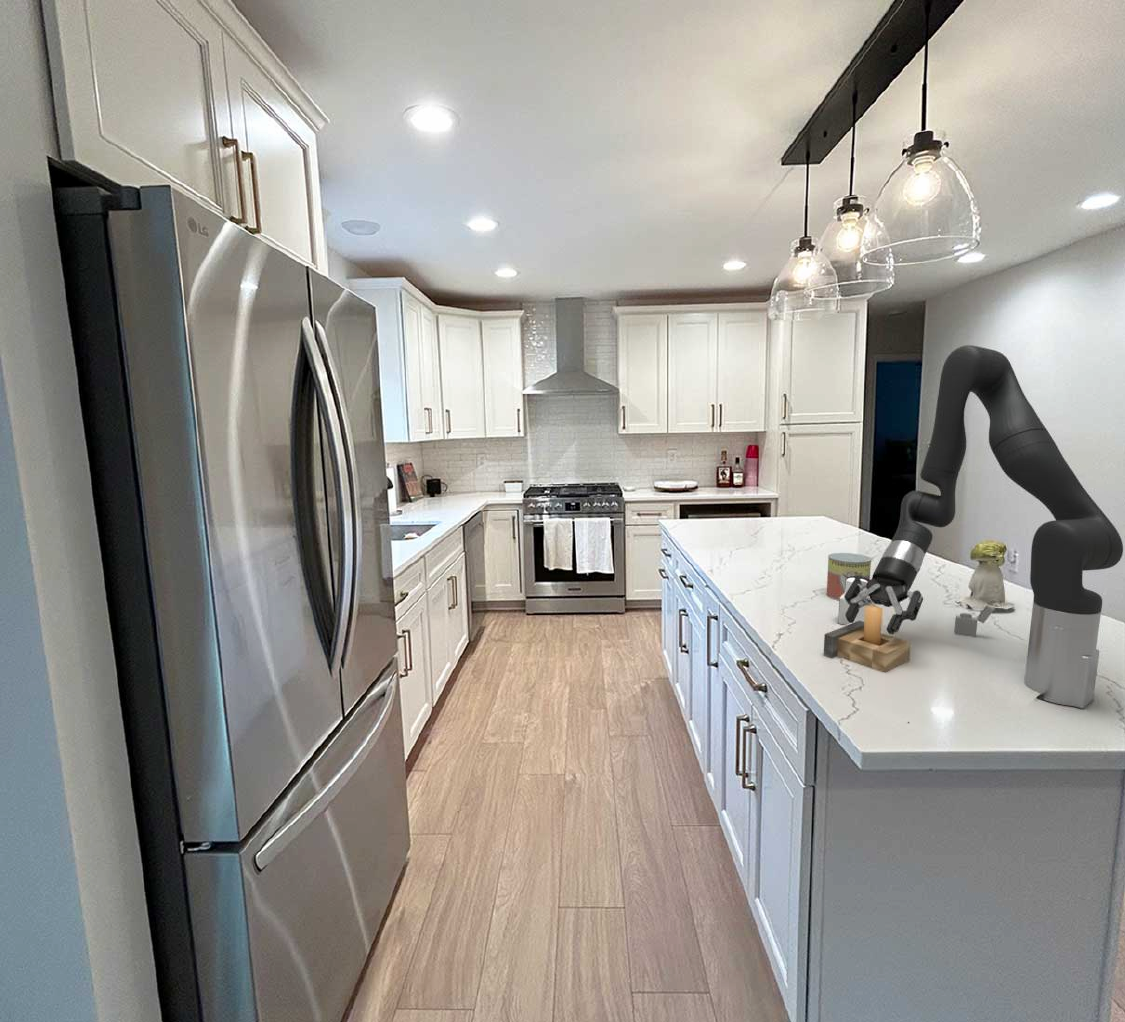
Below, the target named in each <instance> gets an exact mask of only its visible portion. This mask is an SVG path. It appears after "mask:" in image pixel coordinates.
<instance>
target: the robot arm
mask: <svg viewBox="0 0 1125 1022" xmlns="http://www.w3.org/2000/svg"><path fill="white" fill-rule="evenodd" d="M940 374H941V375H940V379H939V387H938V395H937V402H936V408H935V417H934V422H933V430H932V433H931V439H930V441H929V444H928V445H929V446H928V449H927V452H926V454H925V458H924V461H923V464H922V467H921V471H920V479H921V480H923V481H924V482H926V483H929V484H931V485H934V486H936V487H937V488H938V489H939V492H940V495H938V494H933V493H929V492H926V491H922V490H912V491H910V492H908V493H907V494H905V495H904V496H903V498H902V500H901V504H900V515H899V516H900V517H899V522H898V526H897V528H896V531H895V534H894V535H893V537H892V539H891V541H890V543H889V545H888V546H887V547H886V549H885V551H884V552H883V554H882V556H881V558H880V560H879V561H878V564H877V565H876V567H875V569H874V572H873V574H872V577H871V578H870V581H869V582H864V581H861V580H860V578H855V579H854V581H853V583H852V584H851V586H850V588H849V589H848V591H847V593H846V594H845V596H844V598H845V600H846V601H847V603H848V604H849V605H850V606H849V608H848V610H847V612H846V614H845V616H846V619H847V620H848V622H850V624H852V623H854V620H855V618H856V616H857V614H858V612H859V608H861V607H863V606H865V605H870V604H872V603H875V605H882V606H883V607H886V608H890V607H893V609H894V612H895V613H894V614H892V617H891V618H890V621H889V622H888V624H887V626H886V632H888V634H889V635H894V634H896V633H898V632H899V630H900V628H901V627H902V623H903V622H904V621H906V620H910V621H916V619H917V616H918V614H919V611H920V609H921V606H922V603H923V601H924V597H923V595H922V593H921V591H920V590H918V589H917V590H914V591H910V589H911V588H912V585H913V584H914V581H915V580H916V577H917V575H918V574H919V572H920V571H921V568H922V565H923V563H924V562H923V561H924V558H925V556H926V554H927V552H928V549H929V547H930V545H931V544H932V541H933V538H934V537H933V533H932V531H931V530H930V529H929V528H928V527H926V526H924V525H927V526H932V527H935V528H945V527H947V526H949V525H950V524H951V523H952V522H953V520H954V519H955V515H956V487H957V482H958V481H957V480H958V477H959V473H960V470H961V468H962V466H963V462H964V459H965V456H966V452H967V451H966V450H967V434H966V425H965V409H966V408H965V407H966V404H967V400H968V398H969V395H970V393H973V394H974V395H975V396H976V397H977V398H978V400H979V401H980V402H981V404H982V405H983V408H984V409H985V410H986V412H987V414H988V418H989V427H988V444H989V447H990V449H991V451H992V453H993V455H994V457H995V459H996V461H997V463H998V465H999V466H1000V468H1001V470H1002V471H1003V472H1004V474H1005V475H1006V476H1007V477H1008V478H1009V479H1010V480H1011V481H1012V482H1014V483H1015V484H1016V485H1018V486H1019V487H1020V488H1022V489H1023V490H1024V491H1026V492H1027V493H1029V494H1030V495H1031V496H1032V497H1034V498H1035V499H1036V500H1038V501H1039V502H1041V503H1042V504H1043V505H1044V506H1045V507H1046V509H1048V511H1049V512H1050V513H1051V515H1052V516H1053V518H1054V519H1055V520H1050V521H1046V522H1044V523H1043V524H1041V525H1040V526H1038V528H1037V530H1036V531H1035V532H1034V535H1033V538H1032V542H1031V551H1030V552H1031V553H1030V575H1029V576H1030V577H1029V581H1030V582H1029V583H1030V586H1031V590H1032V593H1033V600H1032V601H1033V602H1032V610H1031V620H1030V627H1029V635H1028V637H1029V638H1028V644H1027V652H1026V653H1027V654H1026V655H1027V656H1026V664H1025V672H1024V681H1023V683H1024V685H1025V686H1026V687H1027V688H1028V689H1030V690H1032V691H1033V692H1036V693H1039V695H1037V696H1036V698H1038V699H1041V700H1044V701H1047V702H1050V703H1053V704H1058V705H1064V706H1070V707H1075V708H1076V707H1077V708H1080V709H1085V708H1086V707H1087V706H1088V705H1089V704H1090V703H1091V702H1093V700H1094V697H1095V690H1096V681H1097V672H1098V666H1099V659H1100V650H1099V649H1097V647H1098V646H1097V645H1098V640H1099V639H1098V638H1099V630H1100V623H1101V615H1102V608H1103V598H1102V596H1101V595H1100V594H1099V593H1098V592H1095V591H1093V590H1090V589H1087V588H1085V587H1084V586H1083V572H1084V571H1085V572H1086V571H1098V570H1106V569H1110V568H1113V567H1115V566H1116V565H1117V564H1118V563H1119V562H1120V561H1121V559H1122V557H1123V553H1124V544H1123V540H1122V537H1121V535H1120V534H1119V533H1120V532H1119V531H1118V529H1117V528H1116V527H1115V526H1114V524H1113V523H1112V522H1111V520H1110V519H1109V518H1108V517H1107V515H1106V514H1105V513H1104V512H1103V510H1102V509H1101V508H1100V507H1099V505H1098V504H1097V503H1096V502H1095V500H1094V499H1093V498H1092V497H1091V496H1090V495H1089V492H1087V490H1086V489H1085V488H1084V487H1083V484H1081V482H1080V480H1079V479H1078V477H1077V476H1076V474H1075V473H1074V471H1073V470H1072V468H1071V467H1070V465H1069V463H1068V462H1067V460H1066V459H1065V458H1064V456H1063V454H1062V453H1061V451H1060V449H1059V447H1058V445H1057V443H1056V441H1055V440H1054V439H1053V437H1052V436H1051V434H1050V432H1049V431H1048V429H1047V427H1046V426H1045V425H1044V424H1043V422H1042V421H1041V419H1040V417H1039V416H1038V413H1036V410H1035V409H1034V407H1033V406H1032V405H1031V403H1030V401H1029V400H1028V399H1027V397H1026V395H1025V394H1024V393H1025V392H1024V391H1023V389H1022V387H1021V385H1020V382H1019V380H1018V377H1017V375H1016V373H1015V371H1014V368H1013V366H1012V364H1011V362H1010V361H1009V358H1008V357H1007V356H1006V355H1004V353H1002V352H1000V351H997V350H995V349H991V348H986V347H982V346H977V345H971V344H966V345H962V346H959V347H957V348H956V349H954V350H953V351H951V352H950V354H948V356H947V358H946V359H945V361H944V364H943V366H942V369H941V372H940ZM920 523H921V524H920ZM922 524H924V525H922ZM864 588H867V590H865V591H863V589H864ZM860 591H863V592H861V593H860ZM859 593H860V594H859ZM858 595H859V596H858ZM867 596H869V597H870V598H868V599H867ZM907 599H909V601H908V602H909V603H908V605H907V608H906V610H903V608H902V606H901V602H903V601H904V600H907Z"/></svg>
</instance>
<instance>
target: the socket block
mask: <svg viewBox="0 0 1125 1022" xmlns="http://www.w3.org/2000/svg"><path fill="white" fill-rule="evenodd" d="M863 637H864V628H862V629H860V630H858V631H855V632H853V633H850V634H848V635H845V636H843V637H841V638H838V656H837V657H839V658H843V659H846V660H848V661H850V662H854V663H857V664H861V665H863V666H866V667H869V668H871V669H875V670H877V671H879V672H880V671H881V672H882V673H887V672H889V671H890V670H892V669H894V668H896V667H898V666H901V665H902V664H904V663H906V662H908V661H909V660H910V657H911V656H910V655H911V641H909V640H905V639H902V638H898V637H896V636H891V635H888V634H884V633H881V641H880V646H878V645H874V644H871V643H868V642H865V641H863Z"/></svg>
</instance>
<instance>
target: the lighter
mask: <svg viewBox="0 0 1125 1022" xmlns="http://www.w3.org/2000/svg"><path fill="white" fill-rule="evenodd" d="M994 611H995V608H994V607H992V606H990V605H988V604H987V605H986V607H985V608H984V609H983V610H982V611H980V613H979V614H978V616H977V617H972V616H973V614H972V613H967V612H962V613H960V614H959V615H957V614H956V615H955V618H954V620H955V621H954V628H953V629H954V631H953V633H955V634H954V635H957V636H962V635H964V637H969V636H970V638H977V630H978V622H981V623H982V624H984V623H985V622H986V621H987V620H988V618H989V617H990V616H991V615H992V613H993V612H994Z"/></svg>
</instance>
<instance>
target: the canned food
mask: <svg viewBox="0 0 1125 1022" xmlns="http://www.w3.org/2000/svg"><path fill="white" fill-rule="evenodd" d="M827 557H828V559H827V563H828V564H827V581H826V582H827V583H826V593H825V596H826V597H827V596H828V598H829V597H830V598H829V599H831V600H834V601H838V602H839V598H840V597H841V596H842V595H843V594H844V593H845V579H846V578H847V577H850V576H862V577H866V578H868V579H870V580H871V569H872V568H871V566H872V565H871V564H872V558H871V557H869V556H867V555H865V554H859V553H850V552H835V553H831V554H828V556H827Z"/></svg>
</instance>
